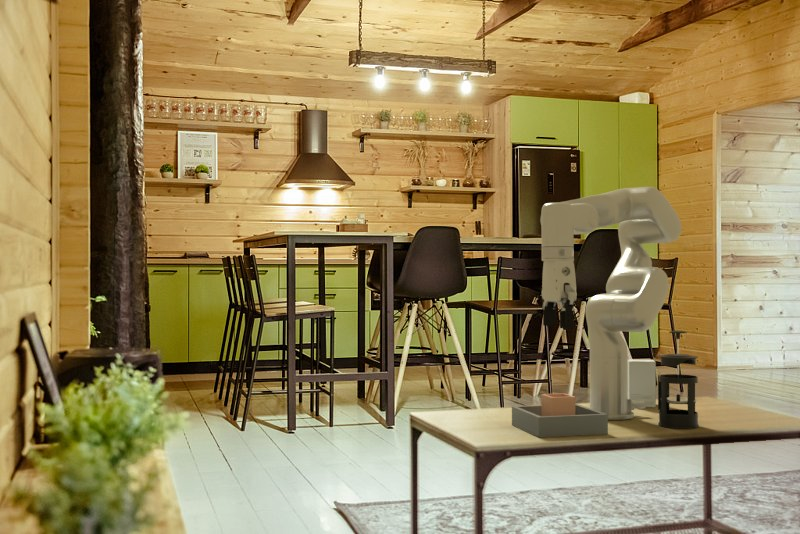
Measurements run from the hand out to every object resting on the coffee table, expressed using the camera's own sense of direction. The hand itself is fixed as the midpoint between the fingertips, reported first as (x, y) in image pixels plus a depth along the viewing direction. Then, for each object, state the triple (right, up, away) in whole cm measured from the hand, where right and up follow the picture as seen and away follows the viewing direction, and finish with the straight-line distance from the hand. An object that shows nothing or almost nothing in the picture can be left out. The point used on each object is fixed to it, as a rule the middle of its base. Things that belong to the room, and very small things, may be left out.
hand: (558, 326), depth 210 cm
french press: (+30, -24, +5) cm, 39 cm away
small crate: (0, -23, 0) cm, 23 cm away
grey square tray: (0, -24, 0) cm, 24 cm away
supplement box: (+30, -25, +38) cm, 54 cm away
